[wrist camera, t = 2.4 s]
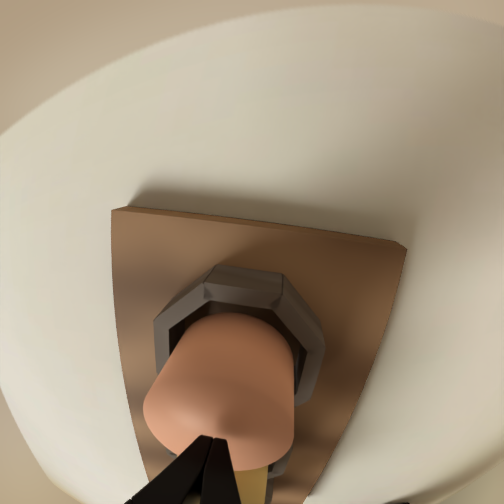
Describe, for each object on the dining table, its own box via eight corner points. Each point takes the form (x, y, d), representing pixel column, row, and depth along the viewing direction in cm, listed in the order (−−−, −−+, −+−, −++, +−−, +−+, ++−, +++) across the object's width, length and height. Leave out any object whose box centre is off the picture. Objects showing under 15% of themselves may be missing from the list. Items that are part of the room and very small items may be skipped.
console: (298, 498, 20) (297, 529, 17) (154, 473, 21) (142, 501, 18) (395, 241, 14) (428, 263, 10) (126, 206, 15) (83, 217, 11)
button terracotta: (282, 410, 12) (279, 477, 9) (179, 392, 13) (151, 452, 9) (303, 321, 11) (310, 389, 7) (178, 302, 12) (135, 357, 8)
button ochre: (262, 478, 14) (256, 529, 11) (184, 464, 15) (167, 512, 11) (275, 435, 13) (271, 497, 9) (180, 418, 13) (156, 475, 10)
